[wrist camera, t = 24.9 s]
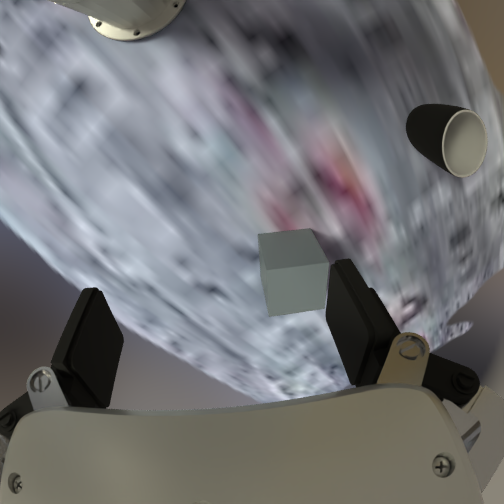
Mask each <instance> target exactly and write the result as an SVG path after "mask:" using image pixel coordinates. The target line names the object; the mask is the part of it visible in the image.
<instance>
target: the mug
mask: <svg viewBox="0 0 504 504" xmlns="http://www.w3.org/2000/svg"><path fill="white" fill-rule="evenodd" d="M406 131H407V135H408V138H409V140H410V142H411V143H412V145H413V146H414V147H415V148H416V149H417V150H418V151H419V152H420V153H421V154H423V155H424V156H425V157H426V158H428V159H429V160H430V161H432V162H433V163H435V164H436V165H438V166H439V167H441V168H442V169H444V170H445V171H447V172H449V173H450V174H452V175H454V176H457V177H460V178H464V177H468V176H470V175H472V174H473V173H475V172H476V171H477V170H478V169H479V167H480V166H481V164H482V162H483V160H484V158H485V155H486V151H487V132H486V128H485V125H484V123H483V121H482V119H481V118H480V117H479V116H478V115H477V114H476V113H475V112H473V111H471V110H469V109H466V108H462V107H457V106H451V105H443V104H425V105H421V106H418V107H416V108H415V109H414V110H413V111H412V112H411V113H410V114H409V116H408V119H407V123H406Z"/></svg>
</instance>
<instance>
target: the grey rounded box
mask: <svg viewBox="0 0 504 504" xmlns="http://www.w3.org/2000/svg"><path fill="white" fill-rule="evenodd" d="M258 245H259V259H260V273H261V281H262V286H263V290H264V295H265V300H266V305H267V309H268V314H269V317H271V316H278V315H285V314H292V313H299V312H306V311H312V310H319V309H325V300H326V291H327V281H328V270H329V261H328V259H327V257H326V256H325V254H324V252H323V250H322V248H321V247H320V245H319V243H318V241H317V239H316V238H315V236H314V234H313V232H312V231H311V229H301V230H291V231H282V232H273V233H264V234H258Z"/></svg>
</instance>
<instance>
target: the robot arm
mask: <svg viewBox="0 0 504 504" xmlns="http://www.w3.org/2000/svg"><path fill="white" fill-rule="evenodd" d="M48 1H51V2H54V3H56V4H59V5H62V6H65V7H67V8H70V9H73V10H75V11H78V12H80V13H83V14H85V15H88V18H89V20H90V23H91V25H92V26H93V27H94V29H95V30H96V31H97V32H99V33H100V34H101V35H103V36H105V37H107V38H110V39H113V40H119V41H133V40H138V39H142V38H145V37H148V36H151V35H153V34H155V33H156V32H158V31H160V30H162V29H163V28H164V27H166V26H167V25H169V24H170V23H171V22H172V21H173V20H174V19H175V18H176V16H177V15H178V14H179V12H180V11H181V10H182V8H183V6H184V4H185V2H186V0H48ZM175 5H178V7H177V8H175V7H174V6H175ZM100 24H102V25H101V26H100ZM138 32H140V34H139V35H137V33H138ZM326 321H327V324H328V326H329V329H330V331H331V334H332V336H333V339H334V341H335V344H336V347H337V349H338V352H339V354H340V357H341V360H342V362H343V365H344V368H345V370H346V373H347V376H348V378H349V381H350V383H351V385H356V388H351V389H346V390H341V391H336V392H331V393H326V394H320V395H315V396H309V397H303V398H298V399H291V400H285V401H278V402H271V403H263V404H256V405H247V406H236V407H226V408H212V409H194V410H119V409H106V407H109V405H110V400H111V395H112V391H113V386H114V381H115V377H116V372H117V368H118V363H119V358H120V355H121V351H122V347H123V343H124V339H123V334H122V332H121V331H120V328H119V326H118V324H117V322H116V320H115V318H114V316H113V314H112V312H111V310H110V308H109V306H108V303H107V301H106V299H105V297H104V295H103V292H102V291H100V290H98V288H96V287H93V288H85V289H83V290H82V292H81V295H80V297H79V299H78V301H77V303H76V305H75V307H74V309H73V311H72V313H71V316H70V318H69V320H68V322H67V325H66V327H65V329H64V331H63V333H62V336H61V338H60V341H59V343H58V345H57V348H56V350H55V353H54V355H53V358H52V360H51V363H52V365H51V368H49V367H40V368H38V369H36V370H35V371H33V372H32V373H31V375H30V376H29V378H28V381H27V390H28V391H27V392H26V393H25V394H23V395H22V396H21V397H19V398H18V399H16V400H15V401H14V402H12V403H11V404H10V405H8V406H7V407H6V408H4V409H3V410H2V411H1V412H0V504H484V502H483V498H482V494H481V493H482V492H483V490H484V489H485V487H486V486H487V484H488V483H489V481H490V479H491V477H492V476H493V474H494V473H495V471H496V470H497V468H498V466H499V464H500V463H501V460H502V459H503V457H504V399H503V398H502V397H500V396H499V395H498V394H496V393H495V392H493V391H492V390H491V389H489V388H488V387H487V386H484V388H483V387H481V386H480V382H479V378H478V376H477V374H476V373H475V372H474V371H473V370H471V369H470V368H468V367H465V366H463V365H460V364H458V363H455V362H452V361H450V360H447V359H444V358H442V357H439V356H437V355H434V354H432V353H429V352H430V348H429V345H428V343H427V341H426V340H425V339H424V338H423V337H422V336H420V335H418V334H416V333H411V332H405V333H402V334H401V333H400V331H399V329H398V328H397V326H396V324H395V323H394V321H393V319H392V318H391V316H390V314H389V313H388V311H387V309H386V308H385V306H384V304H383V303H382V301H381V299H380V298H379V296H378V295H377V293H376V291H375V290H374V289H373V288H369V287H368V286H367V284H366V283H365V281H364V279H363V278H362V276H361V275H360V273H359V271H358V270H357V268H356V267H355V265H354V264H353V262H352V261H351V259H342V260H336V261H335V264H332V265H331V269H330V279H329V289H328V298H327V306H326Z"/></svg>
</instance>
